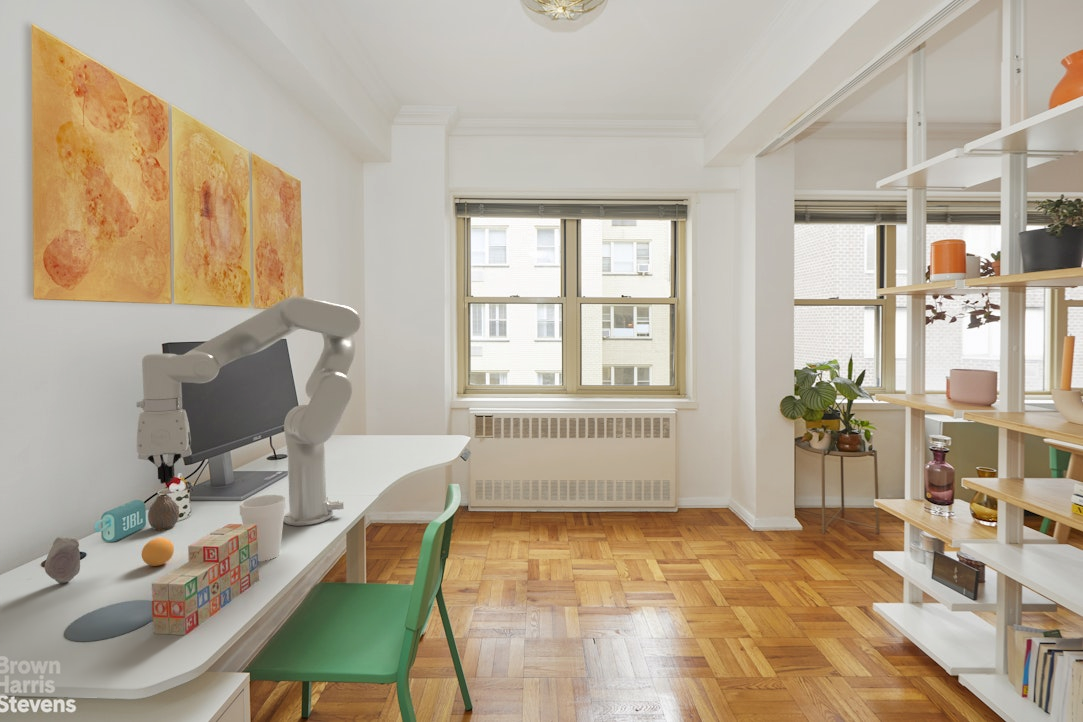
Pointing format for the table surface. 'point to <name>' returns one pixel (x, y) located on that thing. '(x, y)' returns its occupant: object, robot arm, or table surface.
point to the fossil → (63, 560)
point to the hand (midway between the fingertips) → (166, 481)
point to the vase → (163, 513)
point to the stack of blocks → (206, 579)
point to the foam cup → (265, 522)
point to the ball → (157, 551)
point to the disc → (110, 621)
